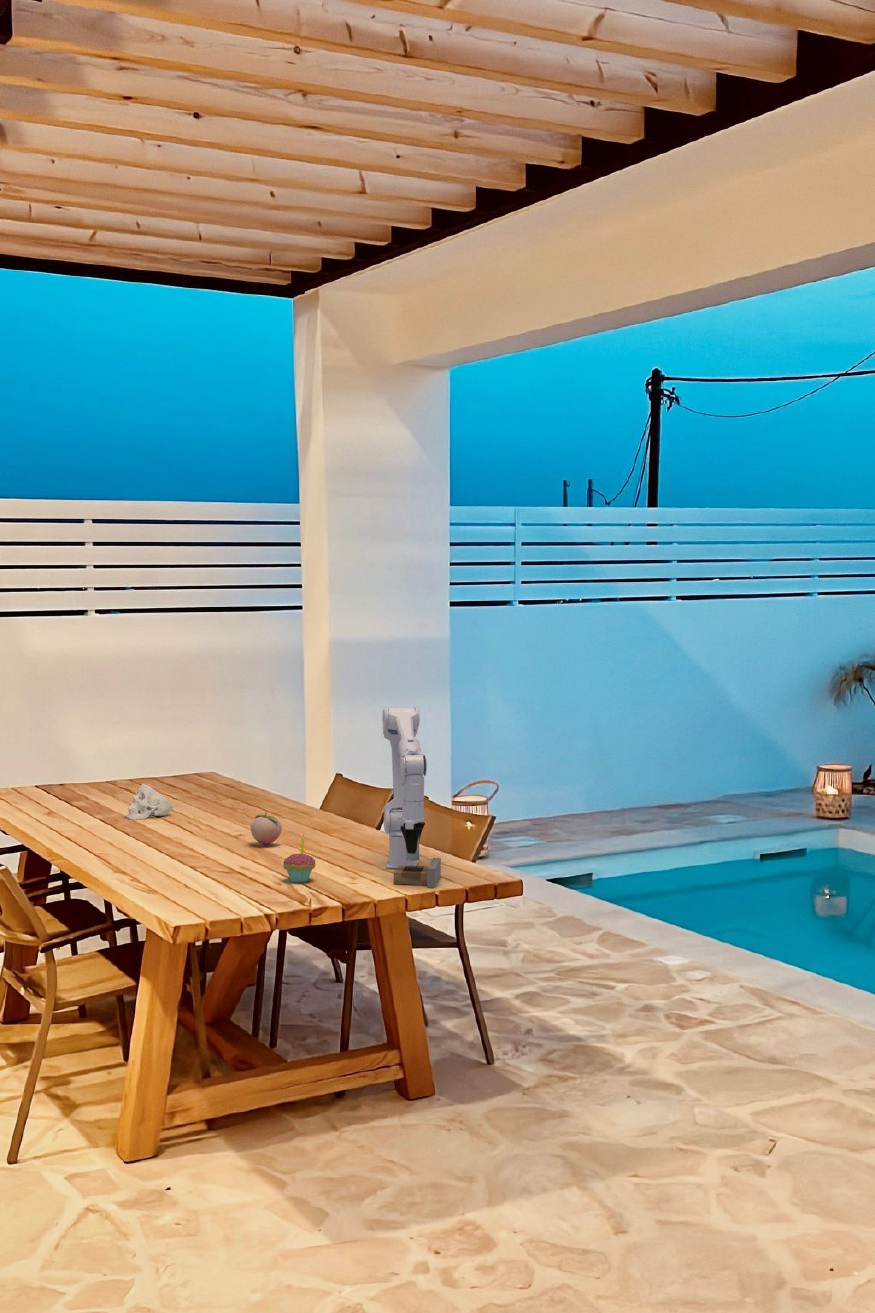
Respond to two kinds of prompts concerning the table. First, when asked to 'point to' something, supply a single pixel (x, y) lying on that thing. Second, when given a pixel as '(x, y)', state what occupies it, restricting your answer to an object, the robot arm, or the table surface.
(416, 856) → the dowel
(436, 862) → the wall
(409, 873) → the brown square frame
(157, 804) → the skull bowl
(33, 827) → the table surface
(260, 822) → the decorative fruit
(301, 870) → the cupcake
